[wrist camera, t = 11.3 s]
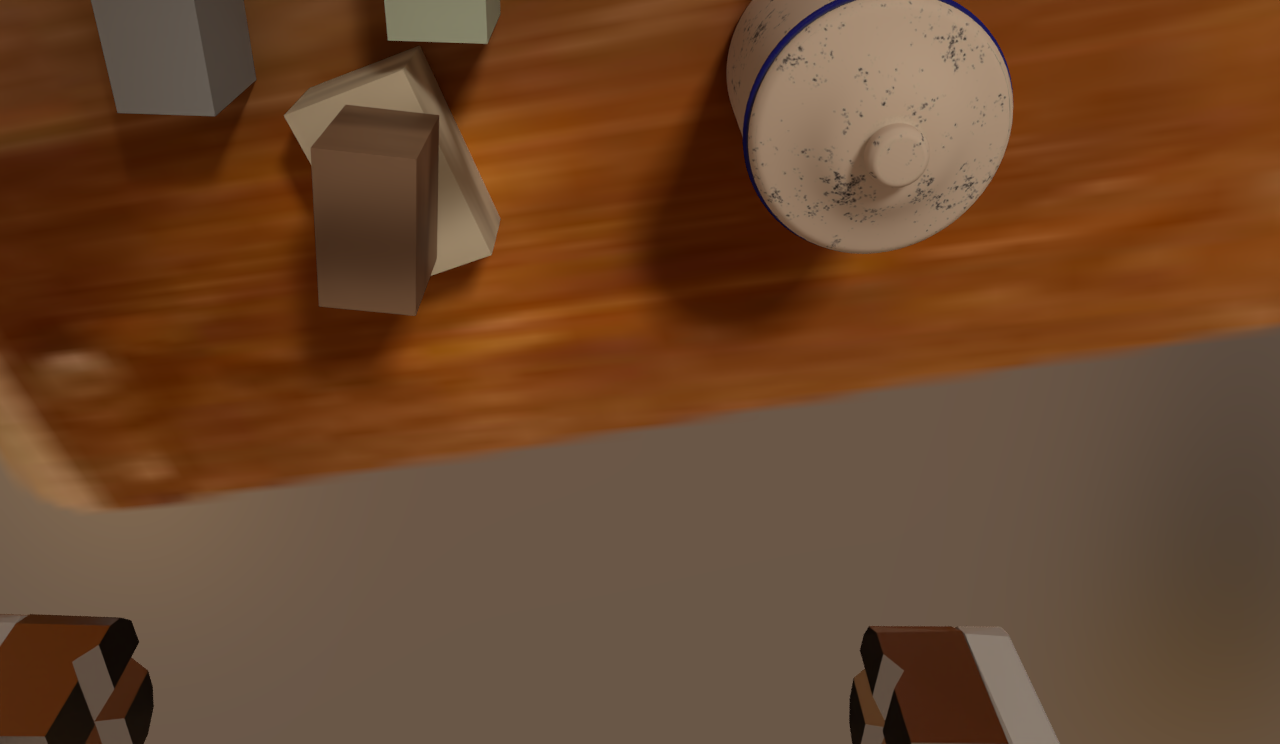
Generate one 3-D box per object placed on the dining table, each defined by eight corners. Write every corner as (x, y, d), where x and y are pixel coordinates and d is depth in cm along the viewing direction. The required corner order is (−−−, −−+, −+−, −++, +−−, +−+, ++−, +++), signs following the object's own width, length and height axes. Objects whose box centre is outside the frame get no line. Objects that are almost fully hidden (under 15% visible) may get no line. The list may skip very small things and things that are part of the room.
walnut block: (345, 104, 37) (310, 147, 33) (439, 115, 37) (416, 159, 33) (350, 249, 40) (319, 306, 36) (436, 258, 41) (415, 315, 36)
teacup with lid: (934, 158, 43) (1032, 277, 33) (725, 180, 43) (760, 305, 33) (952, -152, 37) (1080, -122, 27) (707, -124, 37) (743, -83, 27)
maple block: (311, 86, 41) (283, 115, 37) (420, 43, 40) (402, 69, 37) (399, 252, 45) (382, 292, 41) (501, 216, 44) (491, 255, 41)
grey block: (136, -85, 37) (75, -66, 33) (231, -81, 37) (182, -61, 33) (169, 76, 40) (117, 113, 36) (257, 79, 40) (215, 116, 36)
